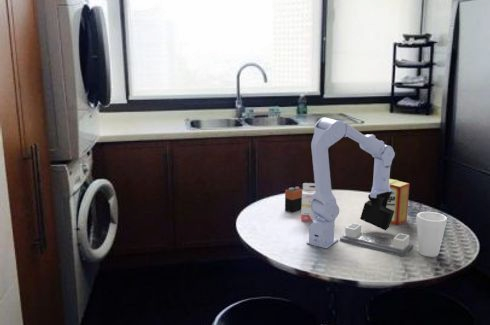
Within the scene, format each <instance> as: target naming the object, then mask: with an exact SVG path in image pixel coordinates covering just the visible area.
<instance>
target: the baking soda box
mask: <svg viewBox="0 0 490 325" xmlns="http://www.w3.org/2000/svg"><path fill="white" fill-rule="evenodd" d="M389 184H390V189H392V194H391V195H390V197H389V199H388V202H387V206H386V208H389V209H391V210H393V211H394V214H393V217H392V220H391V223H390V225H391V224H392V225H394V224H395V226H399V224H400V225H402V224H404V223H406V222H408V220H407V219H408V207H409V196H410V183H409V182H404V181H400V180H398V179H393V178H389Z"/></svg>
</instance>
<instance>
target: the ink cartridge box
mask: <svg viewBox="0 0 490 325" xmlns="http://www.w3.org/2000/svg"><path fill="white" fill-rule="evenodd" d="M302 189H303V190H302V209H301V210H300V214H301V215H300V218H301V219H300V220H301V222H308V223H310V222H312V223H313V221H314V212H313V211H312V210H311V202H312V195H313V194H314V193H315V192H316V190H315V182H313V183H312V182H309V183H308V182H304V183H302Z"/></svg>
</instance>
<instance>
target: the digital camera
mask: <svg viewBox="0 0 490 325" xmlns="http://www.w3.org/2000/svg"><path fill="white" fill-rule="evenodd" d="M393 214H394V211H393V210H391V209H389V208H386V207H384V206H381V209H380V213H379V214H373V210H372V205H371V202H370V200H369V199H368V200H367V201H366V202H364V204H363V208H362V211H361V215H360V217H359V220H361V221H364V222H365V223H368V224H370V225H372V226H375V227H376V228H379V229H381V230H383V231H387V230H388V229H389V228H390V226H391V220H392V217H393Z"/></svg>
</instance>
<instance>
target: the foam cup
mask: <svg viewBox="0 0 490 325" xmlns="http://www.w3.org/2000/svg"><path fill="white" fill-rule="evenodd" d="M415 221H416V228H417V247H418V248H417V249H418V253H419V254H420V255H422V256H425V257H432V258H433V257H437V256H439V254H440V249H441V246H442V243H443V242H442V241H443V237H444V234H445V231H446V226H447V223H448V222H447V221H448V218H447V216H446V215H445V214H443V213H439V212H435V211H422V212H418V213H416V219H415Z"/></svg>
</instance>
